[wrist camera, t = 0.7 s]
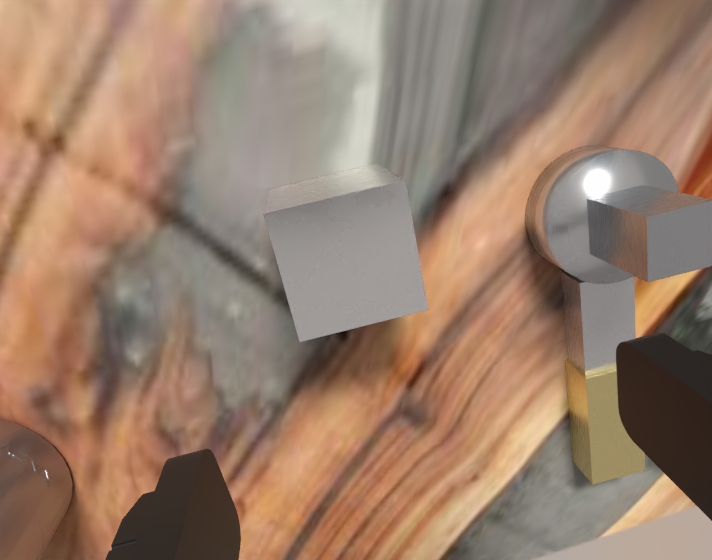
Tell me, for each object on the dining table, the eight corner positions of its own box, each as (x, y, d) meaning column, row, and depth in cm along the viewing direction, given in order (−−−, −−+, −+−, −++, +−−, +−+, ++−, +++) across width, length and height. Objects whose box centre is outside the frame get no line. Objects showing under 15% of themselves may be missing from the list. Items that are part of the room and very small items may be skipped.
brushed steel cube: (397, 265, 28) (428, 309, 22) (297, 290, 28) (299, 342, 22) (377, 162, 26) (405, 180, 20) (269, 188, 26) (263, 213, 20)
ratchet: (645, 440, 35) (735, 524, 28) (549, 466, 34) (616, 558, 27) (640, 132, 28) (761, 141, 21) (519, 162, 27) (600, 180, 20)
